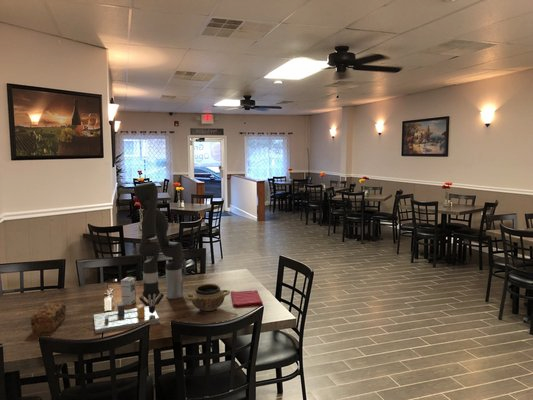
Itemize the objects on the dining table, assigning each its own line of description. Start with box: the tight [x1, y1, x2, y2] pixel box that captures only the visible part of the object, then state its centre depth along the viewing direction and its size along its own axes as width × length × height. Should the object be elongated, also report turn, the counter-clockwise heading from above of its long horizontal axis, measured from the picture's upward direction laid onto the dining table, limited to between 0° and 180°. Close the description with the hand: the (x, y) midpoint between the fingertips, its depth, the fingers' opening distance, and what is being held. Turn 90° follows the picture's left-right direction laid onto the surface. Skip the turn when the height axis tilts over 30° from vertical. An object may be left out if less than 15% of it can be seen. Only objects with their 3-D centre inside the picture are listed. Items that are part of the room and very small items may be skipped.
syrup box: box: [120, 276, 137, 306], centre depth 233 cm, size 6×6×14 cm
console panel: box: [93, 301, 160, 334], centre depth 209 cm, size 30×20×7 cm, turn 115°
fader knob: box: [136, 303, 145, 318], centre depth 209 cm, size 3×5×5 cm, turn 25°
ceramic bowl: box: [184, 283, 231, 314], centre depth 222 cm, size 24×18×15 cm
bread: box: [30, 300, 67, 333], centre depth 204 cm, size 19×11×10 cm, turn 7°
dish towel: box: [230, 289, 264, 308], centre depth 239 cm, size 17×24×3 cm
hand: (151, 312), depth 211 cm, fingers closed
